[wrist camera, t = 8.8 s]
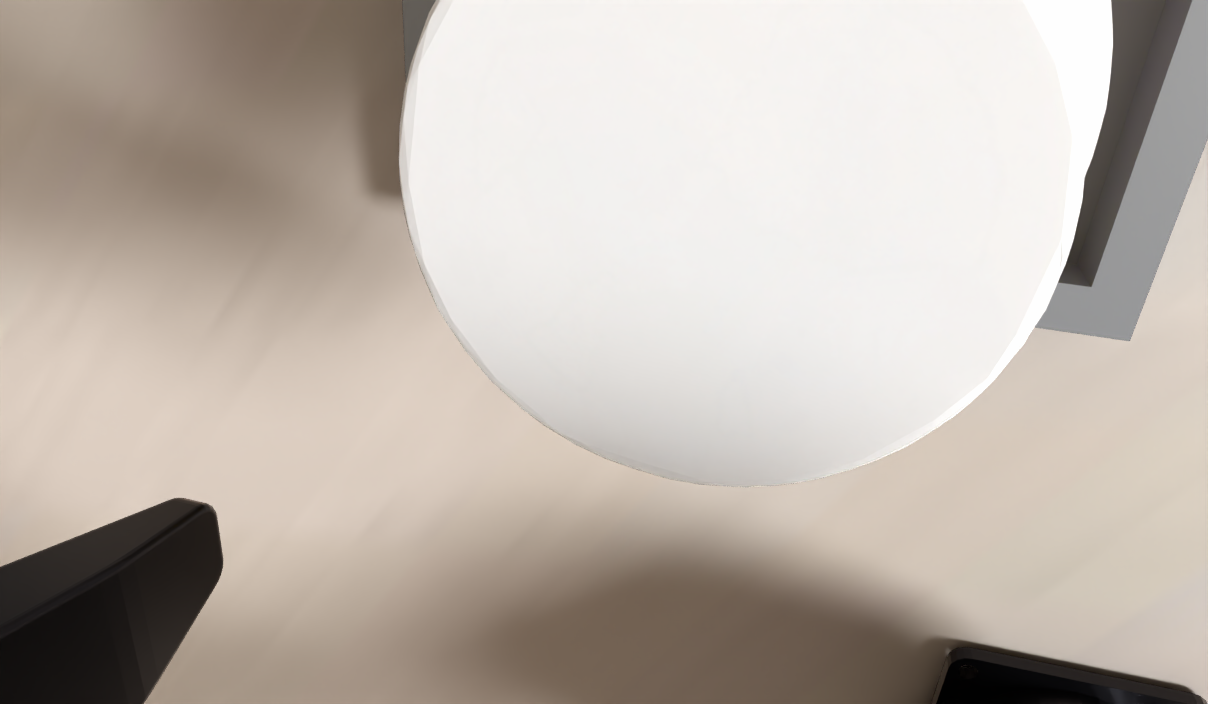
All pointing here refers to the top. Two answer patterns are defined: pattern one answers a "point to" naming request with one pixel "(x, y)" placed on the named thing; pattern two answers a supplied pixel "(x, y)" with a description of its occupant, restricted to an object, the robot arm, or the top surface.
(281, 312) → the top surface
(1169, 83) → the tray
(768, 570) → the top surface
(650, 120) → the supplement bottle
